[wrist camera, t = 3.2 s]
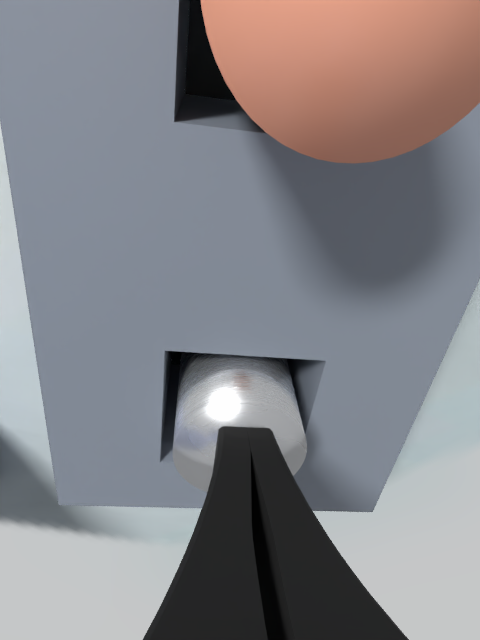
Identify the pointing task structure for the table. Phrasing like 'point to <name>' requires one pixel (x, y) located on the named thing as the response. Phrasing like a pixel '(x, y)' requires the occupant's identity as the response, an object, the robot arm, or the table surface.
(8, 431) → the table surface
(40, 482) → the table surface
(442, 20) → the terracotta plug
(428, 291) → the plug panel
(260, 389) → the steel plug
